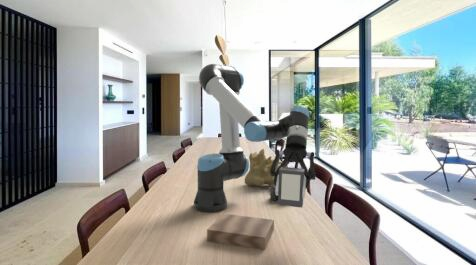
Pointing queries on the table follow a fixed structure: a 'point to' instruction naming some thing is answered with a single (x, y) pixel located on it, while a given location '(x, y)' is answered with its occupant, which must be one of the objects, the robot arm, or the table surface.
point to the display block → (241, 231)
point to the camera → (273, 193)
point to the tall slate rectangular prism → (291, 186)
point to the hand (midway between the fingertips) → (289, 194)
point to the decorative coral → (260, 170)
